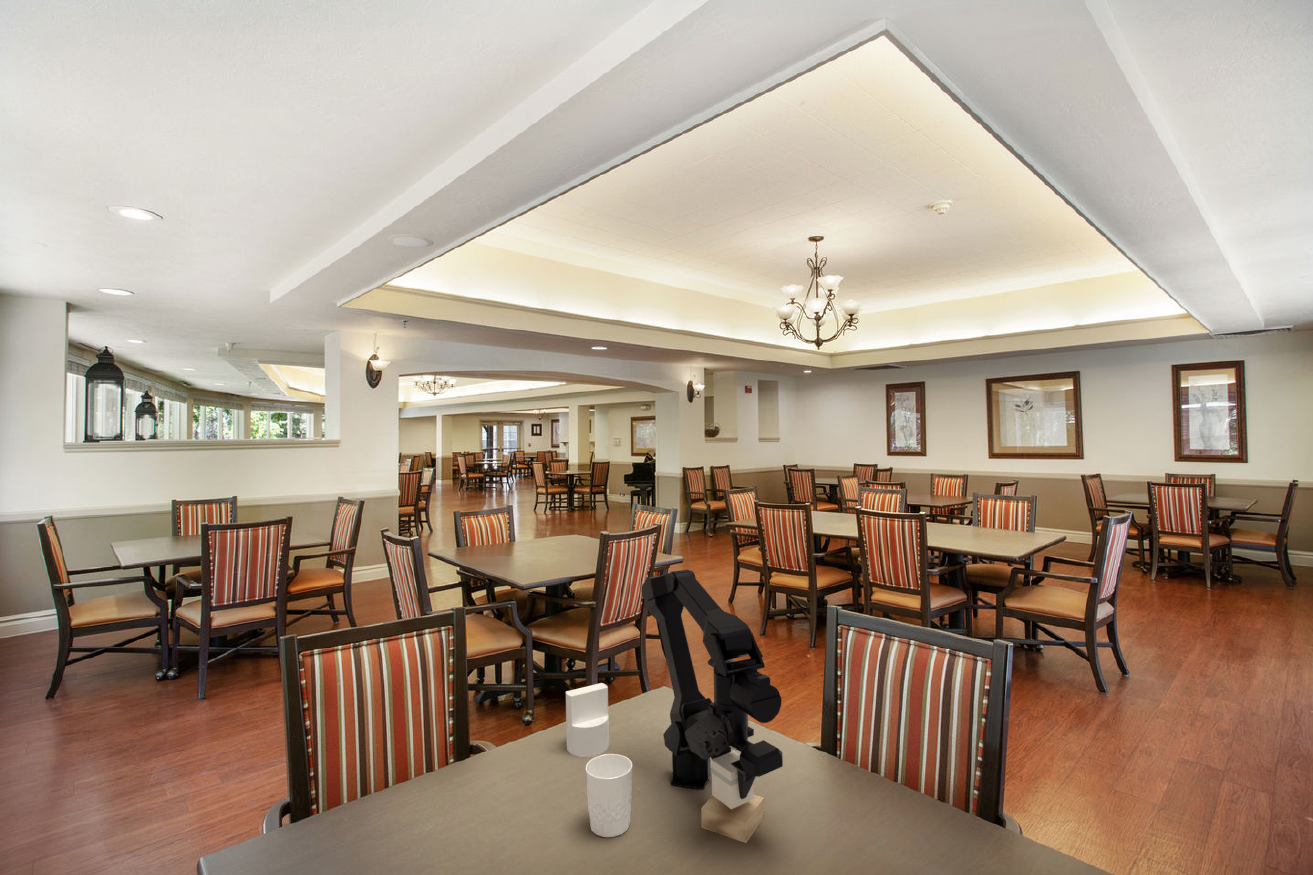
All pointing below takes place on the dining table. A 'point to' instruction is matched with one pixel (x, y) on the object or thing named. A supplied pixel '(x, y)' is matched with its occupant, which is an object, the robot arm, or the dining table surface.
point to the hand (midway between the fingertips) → (732, 790)
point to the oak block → (733, 818)
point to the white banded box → (728, 781)
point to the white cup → (609, 794)
